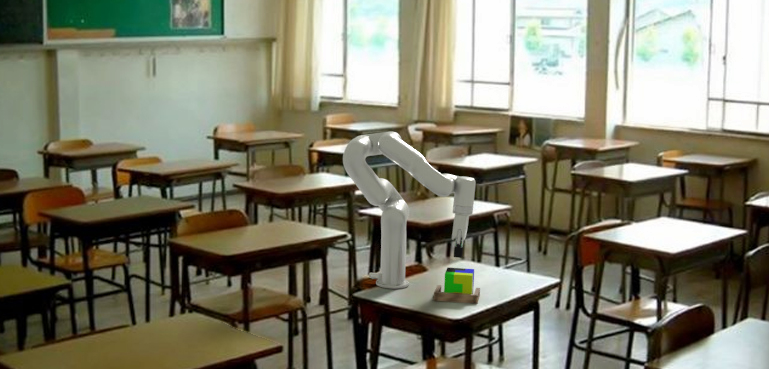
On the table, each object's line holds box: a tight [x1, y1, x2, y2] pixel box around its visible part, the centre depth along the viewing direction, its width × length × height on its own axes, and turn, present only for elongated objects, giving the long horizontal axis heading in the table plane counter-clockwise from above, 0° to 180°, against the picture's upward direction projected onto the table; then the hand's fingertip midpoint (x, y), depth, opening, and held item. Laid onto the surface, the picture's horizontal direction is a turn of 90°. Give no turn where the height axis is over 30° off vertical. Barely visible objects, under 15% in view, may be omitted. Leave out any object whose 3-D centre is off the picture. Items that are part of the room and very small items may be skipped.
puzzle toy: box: [443, 267, 475, 294], centre depth 394 cm, size 10×10×10 cm
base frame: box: [433, 284, 481, 304], centre depth 393 cm, size 16×11×3 cm
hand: (457, 256), depth 404 cm, fingers closed
